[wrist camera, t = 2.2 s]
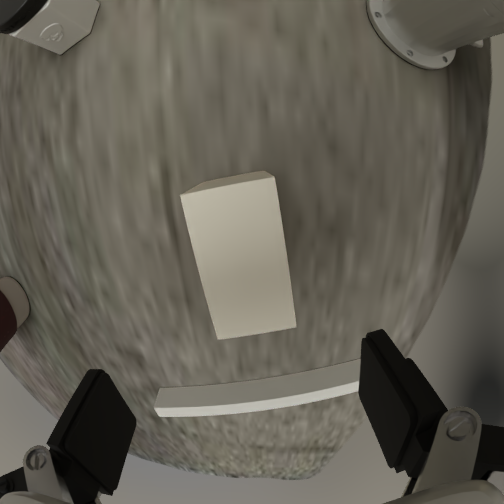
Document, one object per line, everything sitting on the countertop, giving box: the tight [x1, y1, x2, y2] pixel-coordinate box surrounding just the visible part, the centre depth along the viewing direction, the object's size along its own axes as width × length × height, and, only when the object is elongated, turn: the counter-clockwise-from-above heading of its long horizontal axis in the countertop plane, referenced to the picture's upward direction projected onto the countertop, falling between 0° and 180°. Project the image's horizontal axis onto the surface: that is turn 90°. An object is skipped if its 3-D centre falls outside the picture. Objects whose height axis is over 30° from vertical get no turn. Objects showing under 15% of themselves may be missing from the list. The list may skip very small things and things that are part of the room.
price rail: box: [154, 359, 361, 417], centre depth 33 cm, size 30×2×4 cm, turn 100°
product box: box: [180, 170, 296, 340], centre depth 24 cm, size 6×11×10 cm, turn 10°
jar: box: [0, 0, 100, 55], centre depth 14 cm, size 9×8×12 cm
